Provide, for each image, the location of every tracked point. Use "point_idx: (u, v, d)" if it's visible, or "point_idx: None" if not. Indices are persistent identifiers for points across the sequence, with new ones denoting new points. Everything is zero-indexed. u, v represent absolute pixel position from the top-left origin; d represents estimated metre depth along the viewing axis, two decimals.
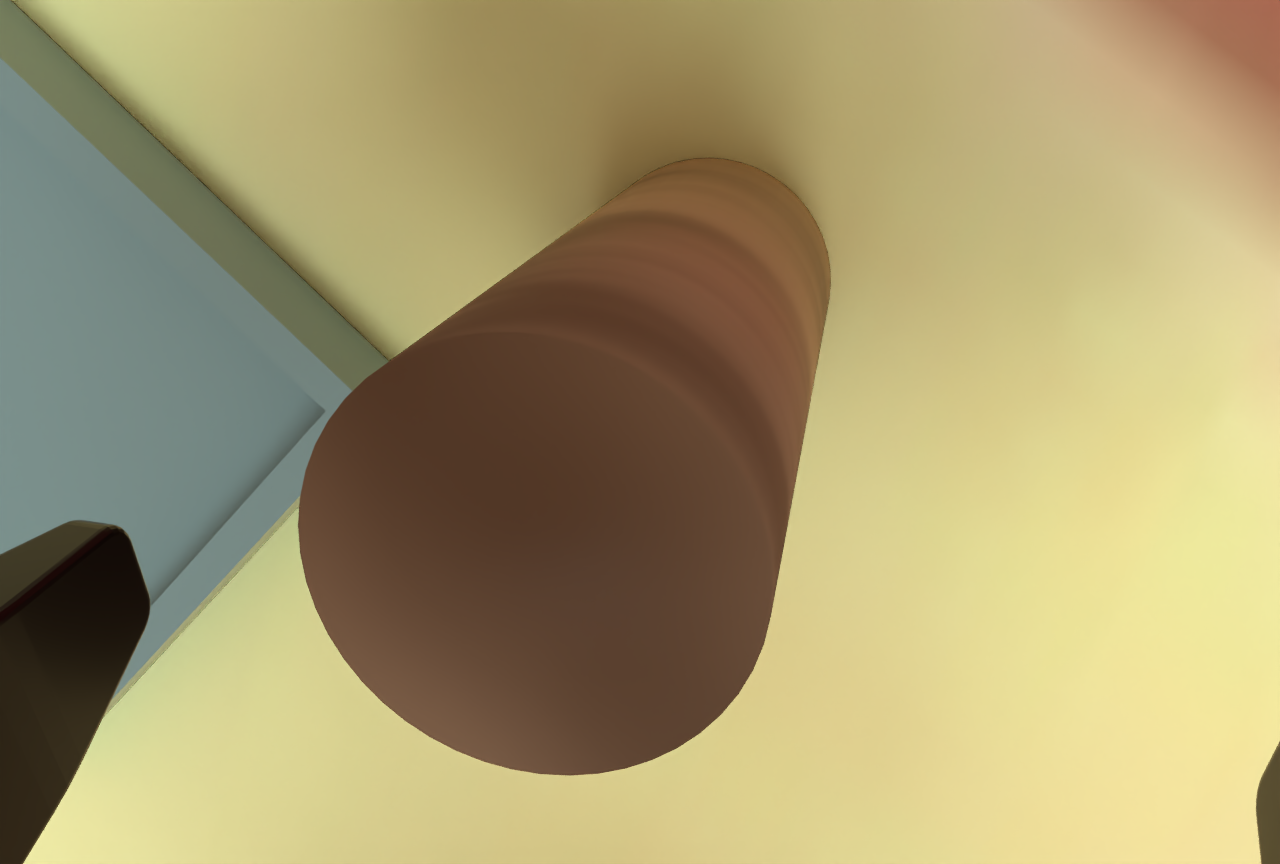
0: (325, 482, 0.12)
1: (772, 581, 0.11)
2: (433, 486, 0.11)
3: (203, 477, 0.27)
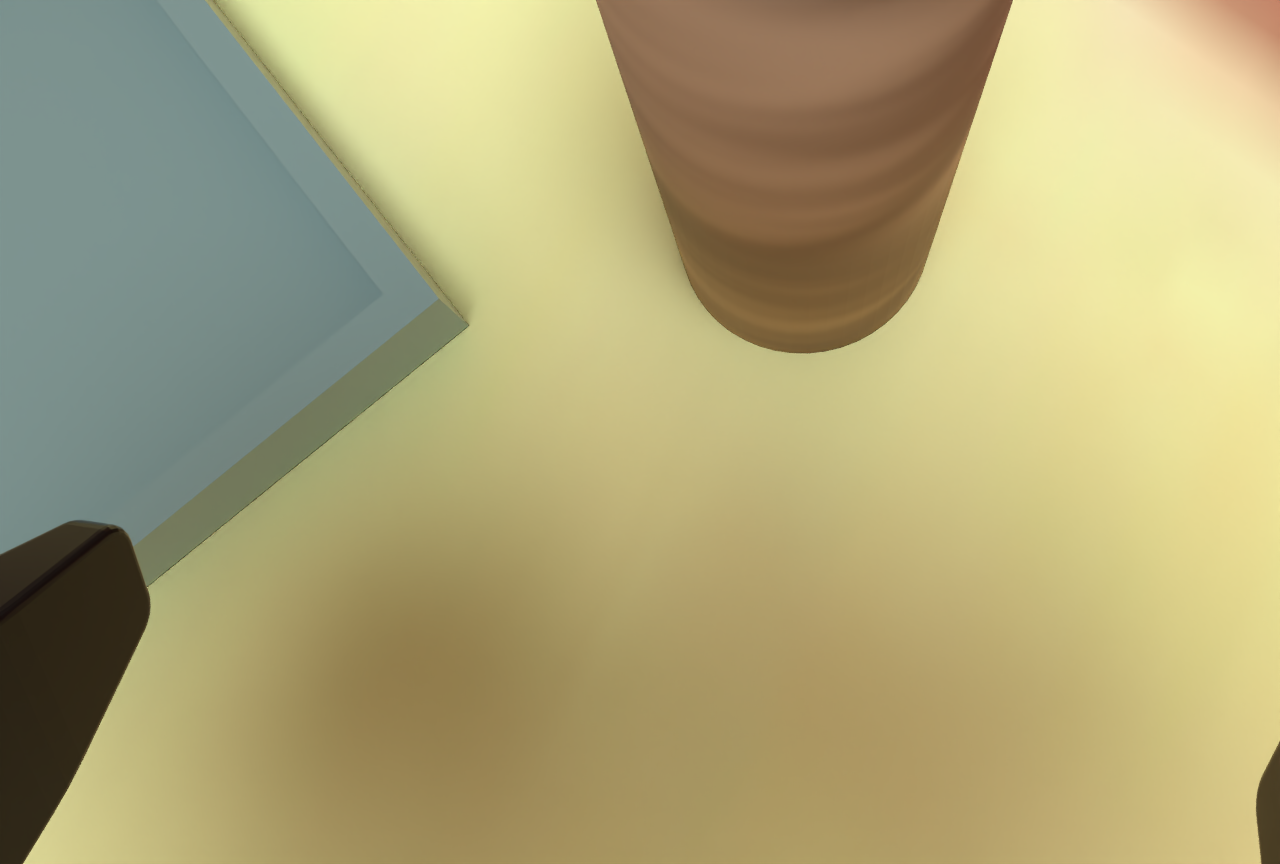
0: None
1: None
2: None
3: (202, 409, 0.24)
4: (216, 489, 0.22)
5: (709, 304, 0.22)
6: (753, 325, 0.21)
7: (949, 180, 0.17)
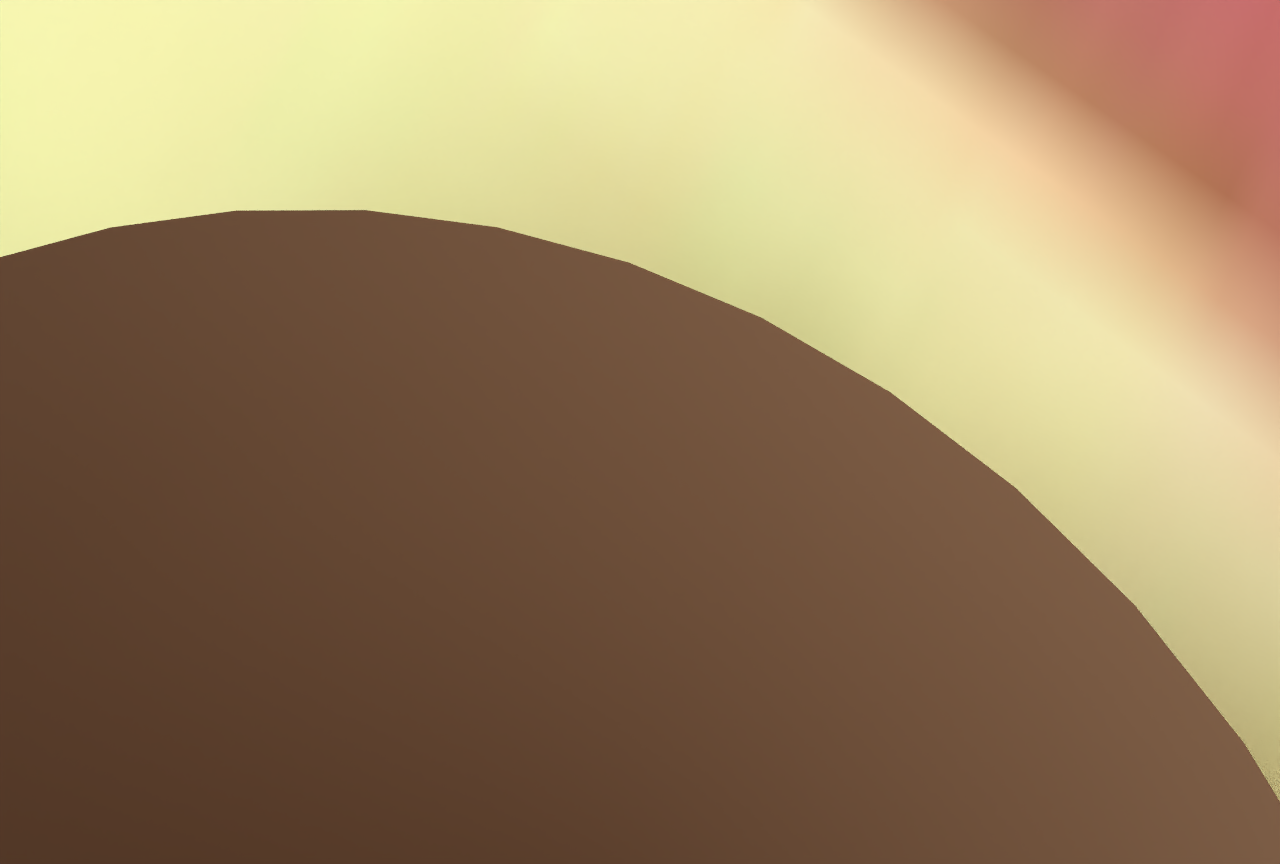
0: None
1: None
2: None
3: None
4: None
5: None
6: None
7: None
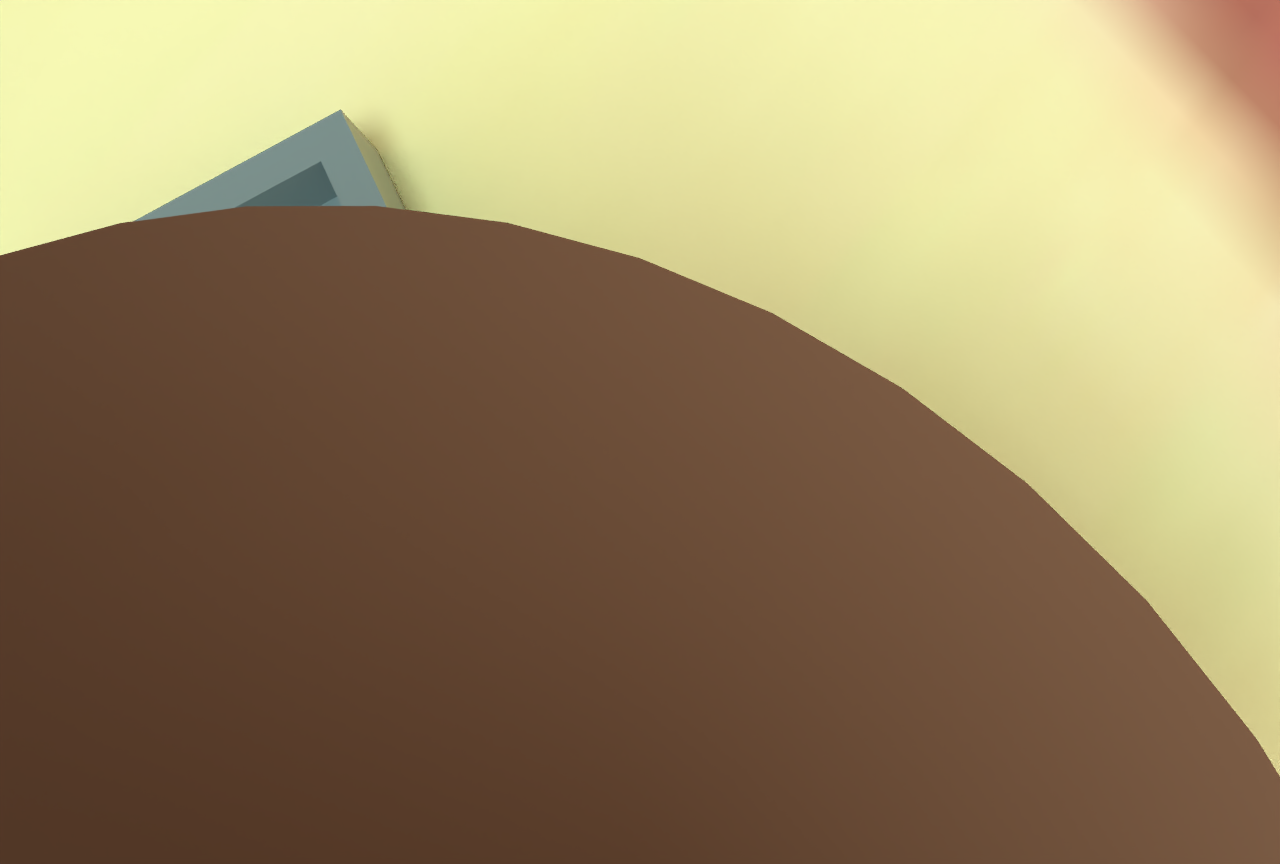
0: None
1: None
2: None
3: None
4: None
5: None
6: None
7: None
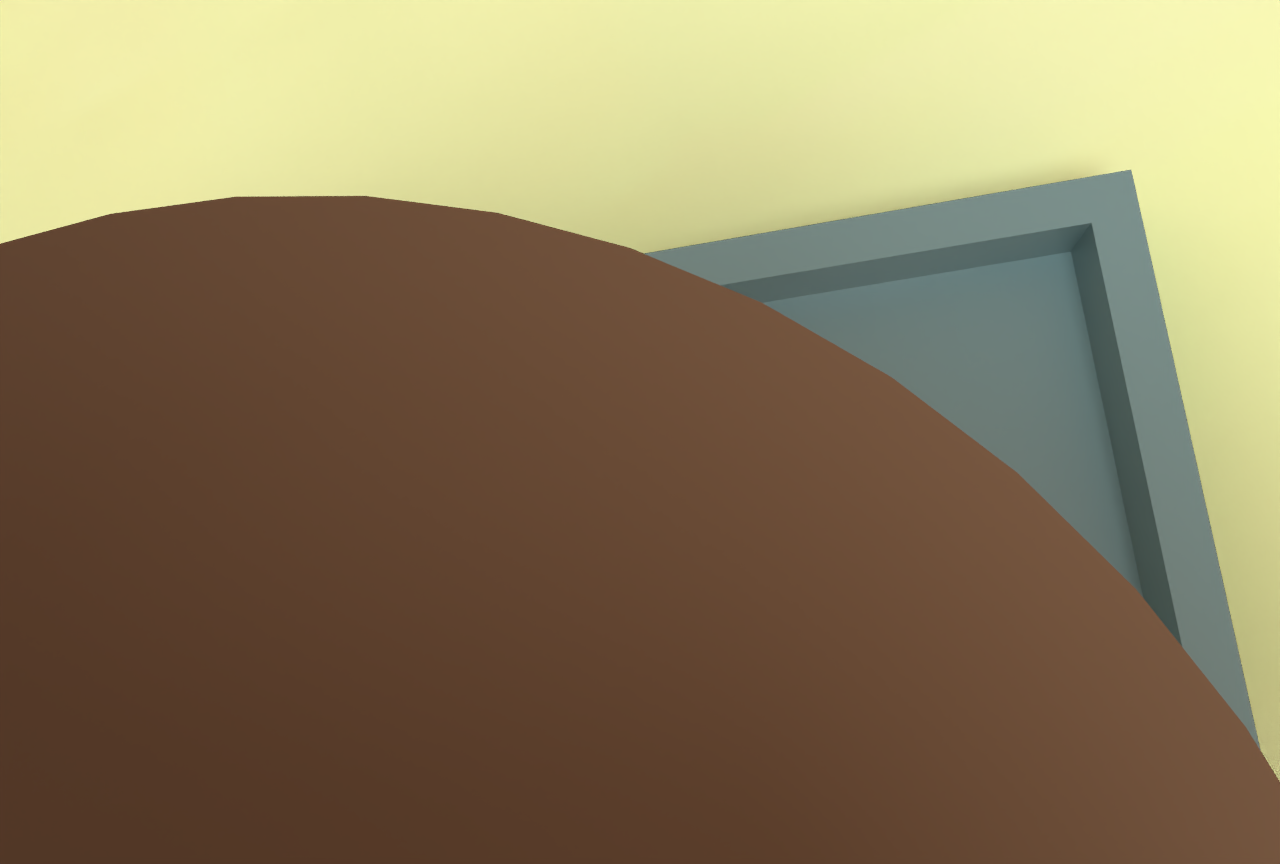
0: None
1: None
2: None
3: None
4: None
5: None
6: None
7: None
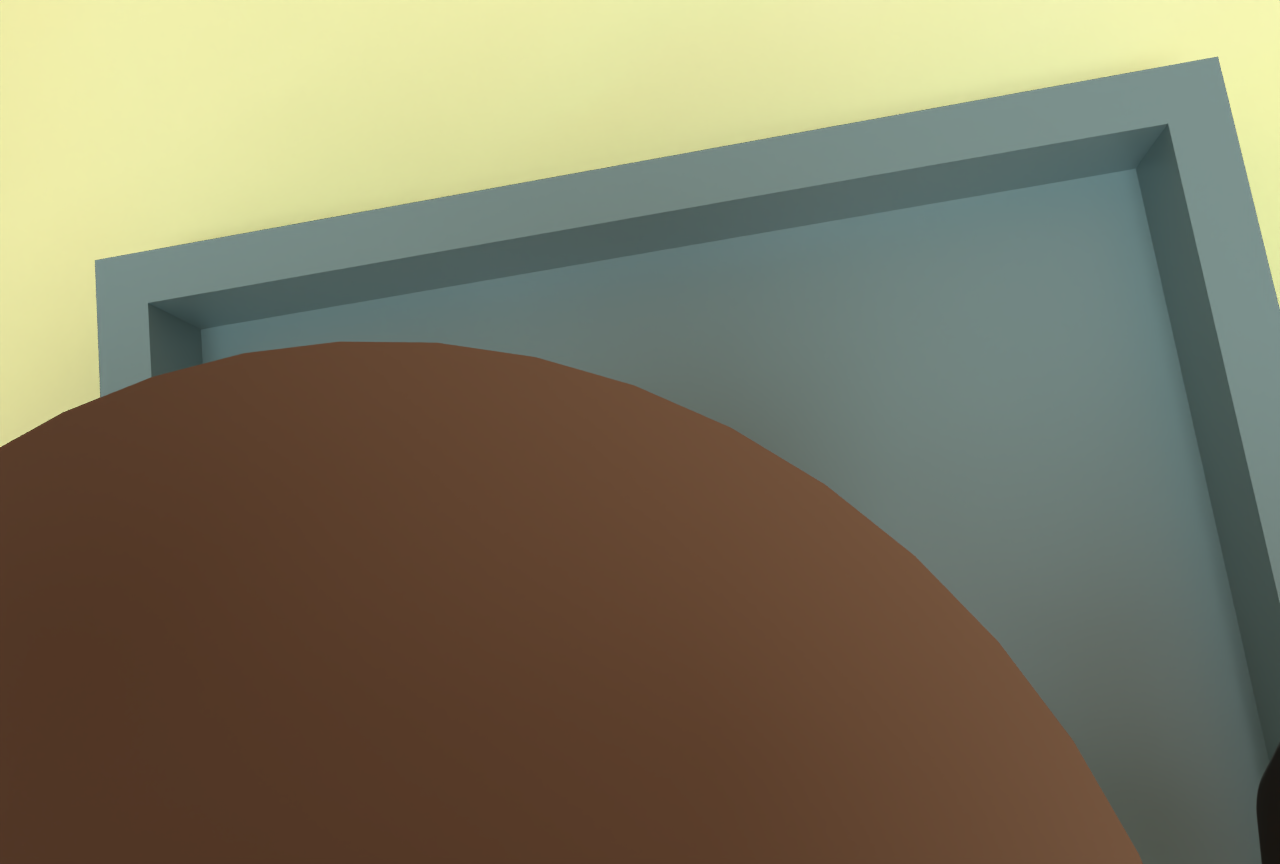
0: None
1: None
2: (79, 836, 0.04)
3: None
4: None
5: None
6: None
7: None
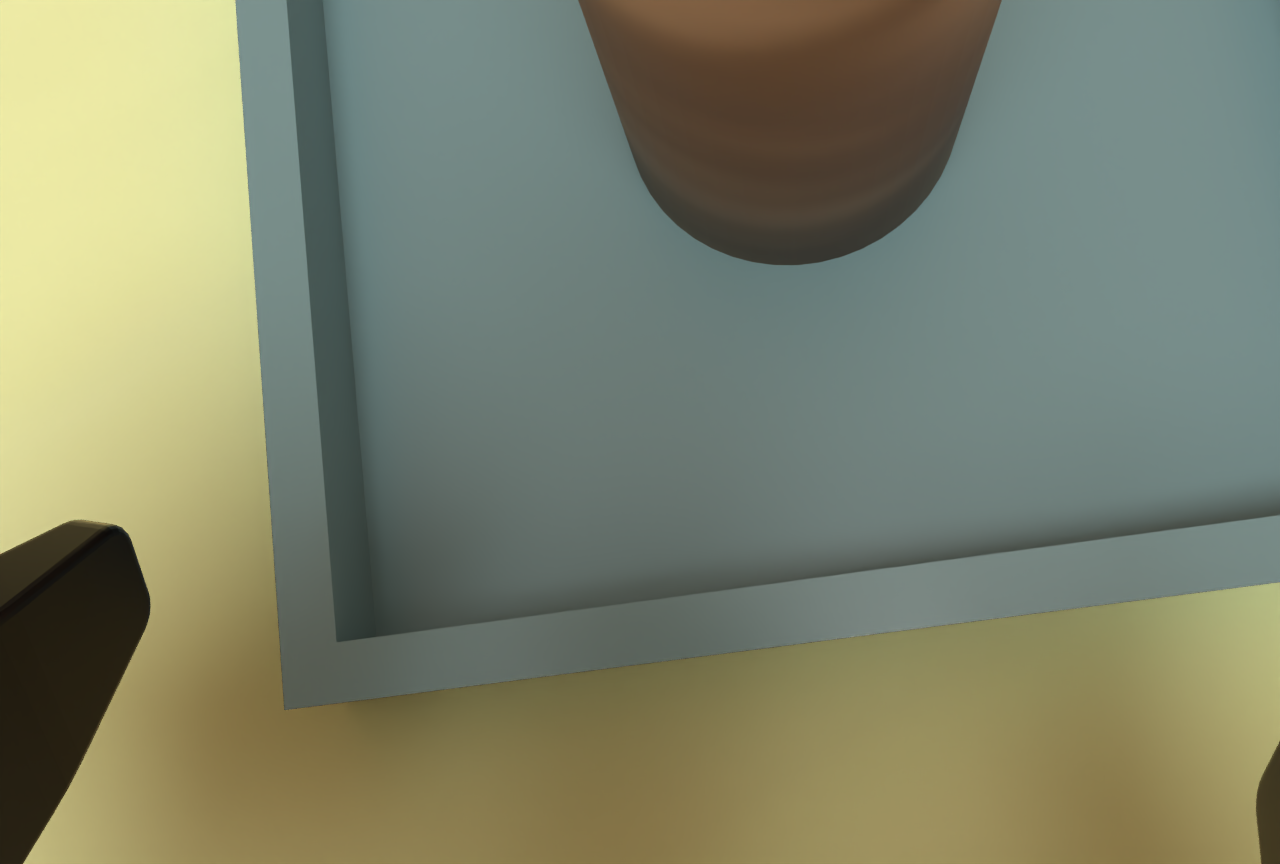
0: None
1: None
2: None
3: (1036, 459, 0.16)
4: None
5: (663, 197, 0.16)
6: (721, 220, 0.16)
7: None
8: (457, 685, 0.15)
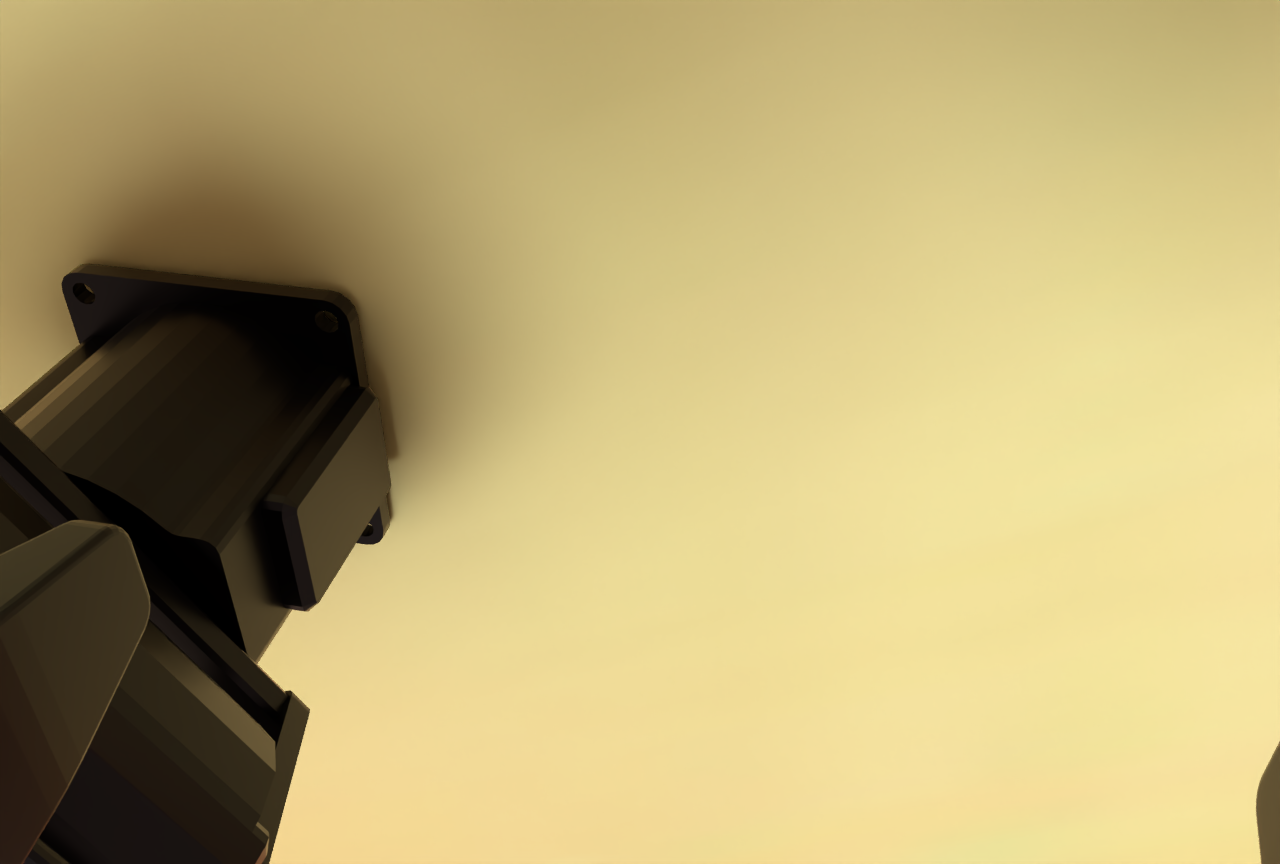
0: None
1: None
2: None
3: None
4: None
5: None
6: None
7: None
8: None
